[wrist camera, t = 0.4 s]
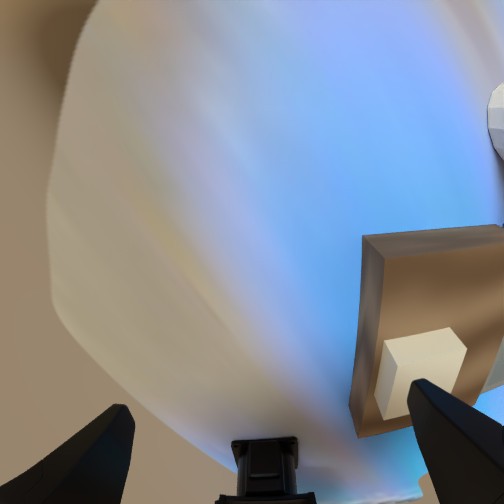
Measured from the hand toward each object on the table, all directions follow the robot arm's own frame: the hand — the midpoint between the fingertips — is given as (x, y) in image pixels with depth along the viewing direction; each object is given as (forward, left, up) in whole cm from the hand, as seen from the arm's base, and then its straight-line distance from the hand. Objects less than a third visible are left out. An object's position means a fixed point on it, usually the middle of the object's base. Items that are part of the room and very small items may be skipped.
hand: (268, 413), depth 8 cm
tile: (-7, -10, -8) cm, 15 cm away
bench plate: (-7, -13, -12) cm, 19 cm away
